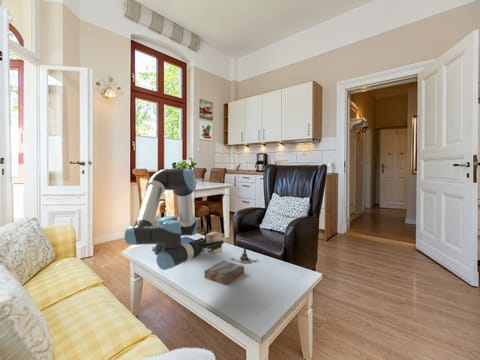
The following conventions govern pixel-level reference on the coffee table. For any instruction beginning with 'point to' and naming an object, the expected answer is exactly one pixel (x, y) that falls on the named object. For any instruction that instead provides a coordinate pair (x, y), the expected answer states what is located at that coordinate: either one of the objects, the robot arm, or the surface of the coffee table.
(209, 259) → the coffee table surface
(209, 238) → the oak block
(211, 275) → the walnut frame
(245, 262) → the eiffel tower figurine
